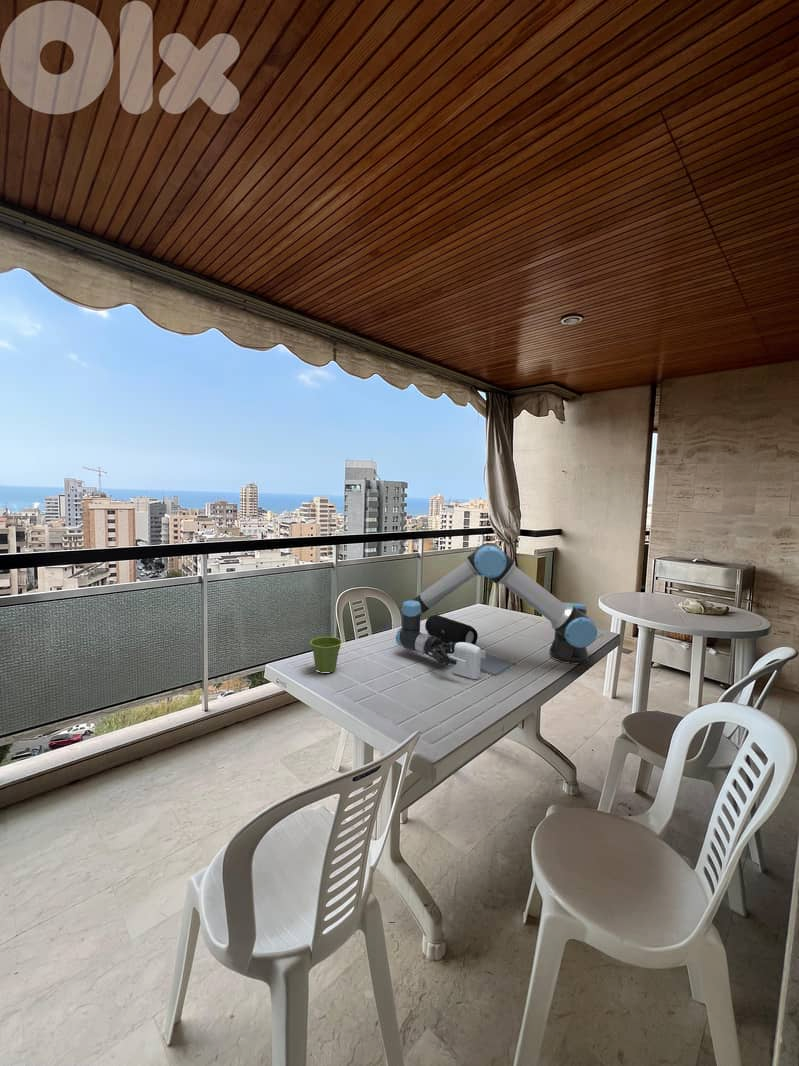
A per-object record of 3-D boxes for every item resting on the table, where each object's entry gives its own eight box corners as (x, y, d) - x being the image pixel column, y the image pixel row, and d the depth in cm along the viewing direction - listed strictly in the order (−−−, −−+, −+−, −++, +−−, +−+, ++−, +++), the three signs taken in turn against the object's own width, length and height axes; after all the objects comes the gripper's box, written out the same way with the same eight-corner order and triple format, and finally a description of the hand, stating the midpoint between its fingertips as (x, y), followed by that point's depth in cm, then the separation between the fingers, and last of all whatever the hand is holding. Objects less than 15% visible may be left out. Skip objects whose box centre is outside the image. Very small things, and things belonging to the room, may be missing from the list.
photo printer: (481, 677, 161) (483, 644, 160) (477, 681, 157) (478, 647, 156) (456, 670, 166) (457, 638, 165) (451, 674, 163) (452, 641, 162)
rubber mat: (515, 664, 173) (515, 662, 173) (495, 676, 162) (495, 674, 162) (481, 654, 184) (481, 652, 184) (459, 664, 172) (459, 662, 172)
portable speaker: (423, 636, 207) (424, 615, 206) (438, 632, 213) (439, 612, 212) (463, 651, 187) (464, 629, 186) (478, 647, 193) (479, 625, 192)
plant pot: (325, 680, 155) (325, 649, 154) (303, 671, 162) (303, 642, 161) (348, 670, 165) (348, 640, 164) (326, 662, 172) (326, 634, 171)
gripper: (447, 646, 183) (492, 660, 168) (408, 662, 165) (455, 679, 150) (447, 629, 182) (492, 641, 168) (408, 643, 164) (455, 658, 150)
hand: (475, 659), depth 159 cm, fingers open, 12 cm apart
